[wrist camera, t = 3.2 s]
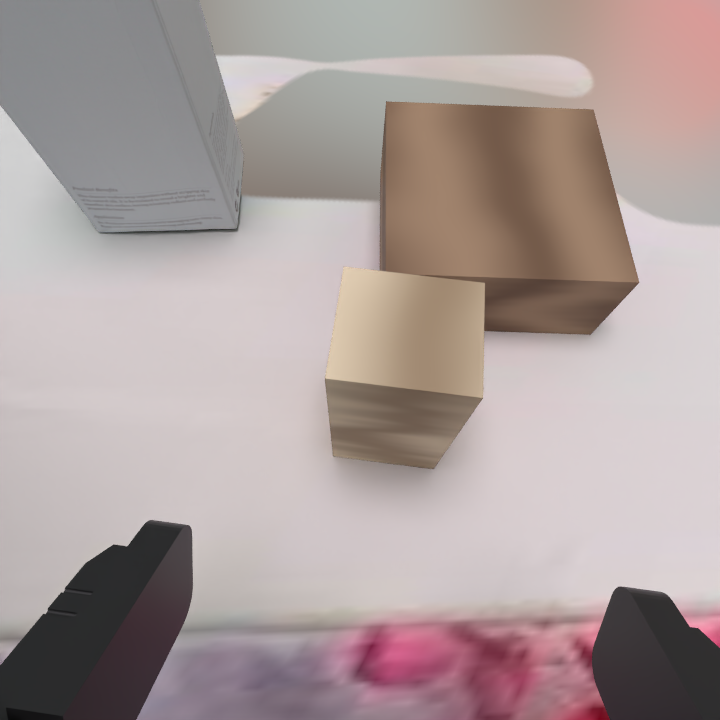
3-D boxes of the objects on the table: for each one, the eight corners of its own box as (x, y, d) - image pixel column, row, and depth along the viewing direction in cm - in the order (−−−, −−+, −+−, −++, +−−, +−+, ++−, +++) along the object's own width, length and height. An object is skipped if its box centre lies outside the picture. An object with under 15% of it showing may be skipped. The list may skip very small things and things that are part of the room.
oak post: (333, 456, 22) (324, 378, 14) (345, 376, 24) (343, 266, 16) (433, 469, 22) (483, 397, 14) (438, 388, 24) (484, 282, 16)
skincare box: (246, 159, 30) (164, -188, 17) (239, 237, 28) (135, -100, 14) (107, 160, 30) (-89, -192, 16) (87, 239, 27) (-166, -103, 14)
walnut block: (378, 330, 26) (385, 273, 21) (380, 174, 30) (386, 101, 26) (587, 337, 26) (639, 282, 21) (556, 181, 30) (593, 109, 26)
